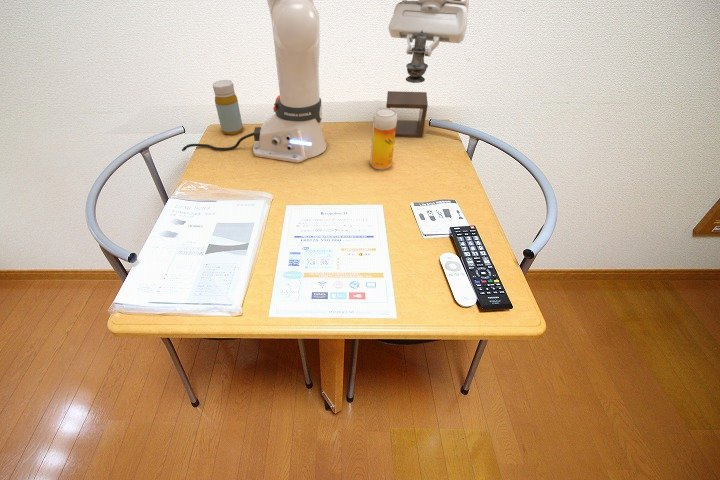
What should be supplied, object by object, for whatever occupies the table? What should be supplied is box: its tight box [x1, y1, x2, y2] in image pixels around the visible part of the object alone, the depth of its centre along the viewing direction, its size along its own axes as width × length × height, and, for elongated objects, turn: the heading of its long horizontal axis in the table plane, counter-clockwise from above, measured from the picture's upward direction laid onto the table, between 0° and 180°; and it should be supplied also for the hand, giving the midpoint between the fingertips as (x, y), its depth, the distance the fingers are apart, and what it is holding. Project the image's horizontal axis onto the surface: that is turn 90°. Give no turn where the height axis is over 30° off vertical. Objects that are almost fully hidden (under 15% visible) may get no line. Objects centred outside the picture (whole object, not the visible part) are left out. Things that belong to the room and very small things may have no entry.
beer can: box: [369, 107, 398, 171], centre depth 98 cm, size 6×6×15 cm
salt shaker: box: [405, 31, 429, 84], centre depth 98 cm, size 6×6×12 cm
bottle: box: [212, 79, 244, 136], centre depth 116 cm, size 7×7×15 cm
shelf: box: [385, 90, 429, 138], centre depth 114 cm, size 12×10×10 cm
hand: (418, 54), depth 97 cm, fingers closed on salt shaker, 3 cm apart
